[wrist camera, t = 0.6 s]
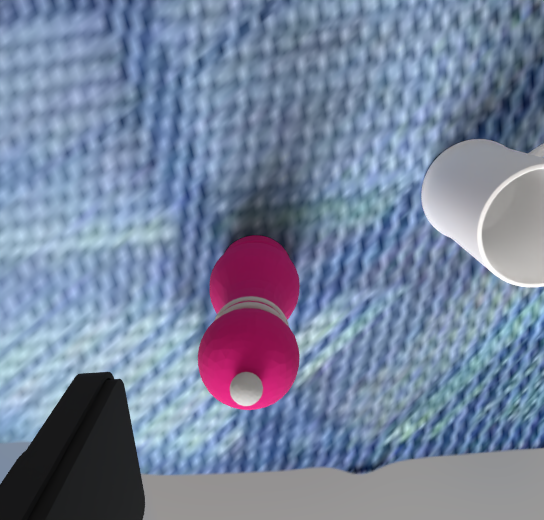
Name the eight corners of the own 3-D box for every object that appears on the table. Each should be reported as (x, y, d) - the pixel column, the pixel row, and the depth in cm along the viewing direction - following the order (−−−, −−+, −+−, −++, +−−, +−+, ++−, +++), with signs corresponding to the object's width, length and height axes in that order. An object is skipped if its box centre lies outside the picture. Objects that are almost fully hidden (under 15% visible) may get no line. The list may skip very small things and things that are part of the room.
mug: (521, 88, 41) (617, 90, 30) (576, 171, 43) (685, 201, 32) (400, 185, 43) (446, 220, 32) (457, 258, 46) (519, 316, 34)
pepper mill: (211, 231, 45) (167, 339, 26) (295, 226, 45) (313, 331, 26) (218, 308, 47) (183, 459, 28) (298, 304, 47) (317, 452, 28)
